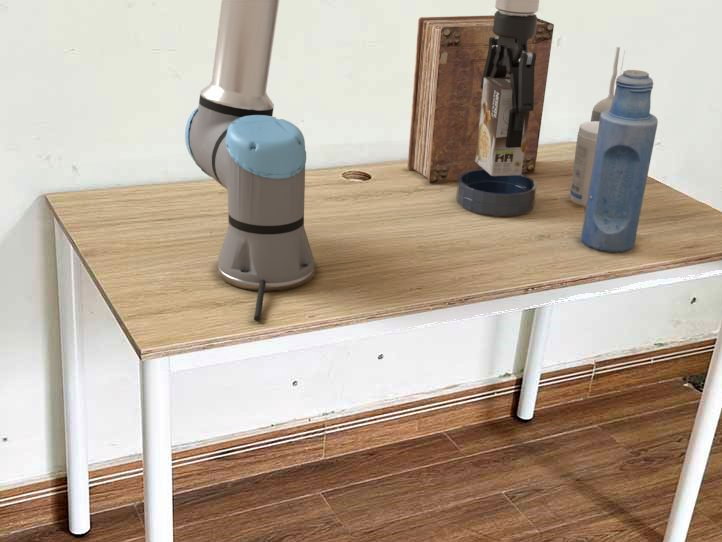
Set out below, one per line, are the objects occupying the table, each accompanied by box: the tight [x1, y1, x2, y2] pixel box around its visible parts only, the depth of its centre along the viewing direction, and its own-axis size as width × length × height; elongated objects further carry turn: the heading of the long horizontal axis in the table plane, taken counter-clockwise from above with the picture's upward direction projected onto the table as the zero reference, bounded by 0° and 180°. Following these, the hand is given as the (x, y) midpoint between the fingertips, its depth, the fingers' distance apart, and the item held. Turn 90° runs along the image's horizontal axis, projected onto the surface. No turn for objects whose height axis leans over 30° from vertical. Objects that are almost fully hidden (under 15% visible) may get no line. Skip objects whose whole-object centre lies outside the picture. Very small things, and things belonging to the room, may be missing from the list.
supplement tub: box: [569, 120, 599, 208], centre depth 204 cm, size 10×10×15 cm
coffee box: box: [475, 76, 530, 176], centre depth 195 cm, size 9×6×16 cm
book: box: [407, 14, 555, 185], centre depth 212 cm, size 25×9×30 cm, turn 116°
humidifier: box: [590, 46, 626, 122], centre depth 221 cm, size 8×8×25 cm
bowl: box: [455, 169, 538, 218], centre depth 202 cm, size 15×15×4 cm
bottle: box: [580, 69, 659, 254], centre depth 181 cm, size 10×10×30 cm
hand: (501, 139), depth 196 cm, fingers closed on coffee box, 9 cm apart
